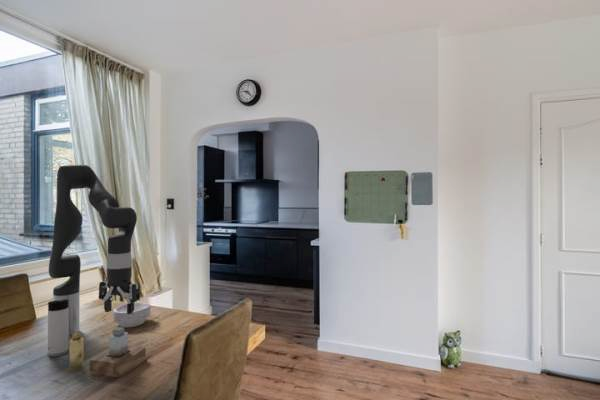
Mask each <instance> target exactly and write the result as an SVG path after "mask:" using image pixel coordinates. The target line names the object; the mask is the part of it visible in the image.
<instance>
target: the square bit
mask: <svg viewBox="0 0 600 400" xmlns="http://www.w3.org/2000/svg"><path fill="white" fill-rule="evenodd" d="M112 331H113V332H112V333H113V334H111V335H109V336H108V338H109V339H108V340H109V342H108V347H109V348H108V349H109V357H115V358H121V357H123V356H124V355H126V354H127V353H128V346H129V332H128V331H127V332H126V331H125V327H121V326H118V327H116V328H113V330H112Z"/></svg>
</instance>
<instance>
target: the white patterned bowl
mask: <svg viewBox="0 0 600 400" xmlns="http://www.w3.org/2000/svg"><path fill="white" fill-rule="evenodd" d="M127 304H128V303H125V304H121V305H119V306H116V307H115V308H114V309H113V310H112V315H113V316H112V320H113V322H114V323H117V324H118V325H119V327H124V328H134V327H137V326H141V325H143V324H144V323H145V321H146V319H147V318H149V317H150V316H151V304H150V303H149V302H142V301H141V302H137V301H136V302H134V311H133V313H131V314H127Z"/></svg>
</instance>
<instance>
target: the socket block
mask: <svg viewBox="0 0 600 400" xmlns="http://www.w3.org/2000/svg"><path fill="white" fill-rule="evenodd" d="M146 351H147V350H146V347H144V346H134V345H128V353H127V354H126V355H124V356H123V357H121V358H115V357H109V348H107V349H106V350H104V351H102V352H101V353H100V354H98V355H96V356H94V357H92V358H91V359H89V375H97V376H105V377H113V378H123V377H124V376H126V375H127V374H129V373H130V372H131V371H133V370H134V369H136V367H139V366H140V365H141V364H142V363H143V362H145V361H146V359H147V358H146V355H147V354H146Z"/></svg>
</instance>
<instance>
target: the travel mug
mask: <svg viewBox="0 0 600 400" xmlns="http://www.w3.org/2000/svg"><path fill="white" fill-rule="evenodd" d="M68 308H69V307H68V300H67V299H65V300H60V301H57V300H55V301H53V300H51V301H48V302H47V356H48V357H53V358H55V357H60V356H64V355H65V354H66V353H68V352H69V351H70V339H69V337H70V336H69V309H68Z"/></svg>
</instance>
